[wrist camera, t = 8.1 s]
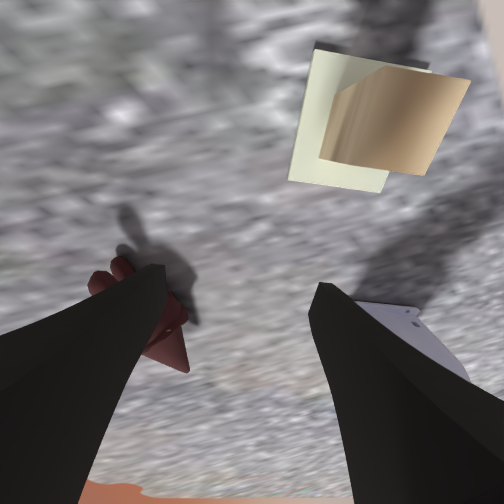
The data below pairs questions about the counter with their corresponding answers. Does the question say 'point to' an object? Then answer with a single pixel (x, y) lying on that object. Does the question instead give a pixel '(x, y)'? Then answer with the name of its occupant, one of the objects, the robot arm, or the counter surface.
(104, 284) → the icecream
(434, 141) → the block
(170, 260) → the counter surface
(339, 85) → the coaster
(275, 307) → the counter surface
